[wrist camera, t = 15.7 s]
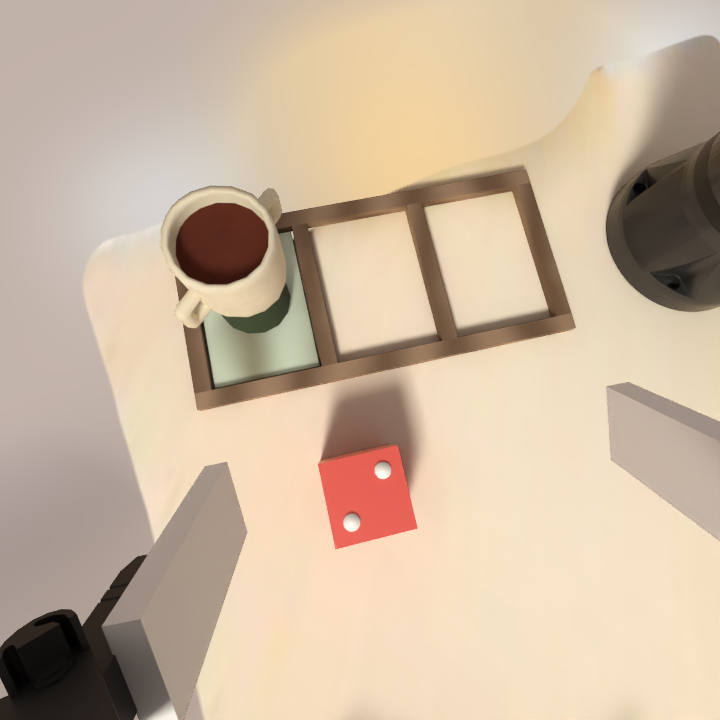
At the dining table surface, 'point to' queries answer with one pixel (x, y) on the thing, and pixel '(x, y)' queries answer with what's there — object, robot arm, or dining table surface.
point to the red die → (366, 495)
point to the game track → (294, 334)
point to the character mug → (227, 257)
